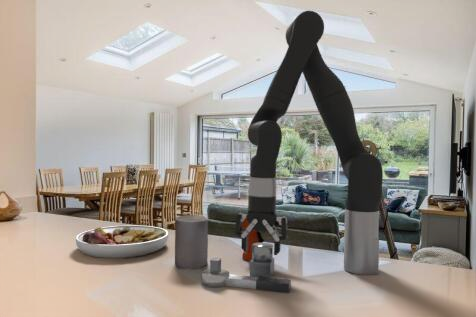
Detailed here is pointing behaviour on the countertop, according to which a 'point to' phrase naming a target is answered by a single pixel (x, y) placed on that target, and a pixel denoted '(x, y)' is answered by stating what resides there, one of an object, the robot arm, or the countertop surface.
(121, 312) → the countertop surface
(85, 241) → the bowl
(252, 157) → the robot arm
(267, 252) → the cylinder on square block
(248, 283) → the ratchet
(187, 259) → the pillar candle
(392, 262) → the countertop surface
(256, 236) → the toy drill
